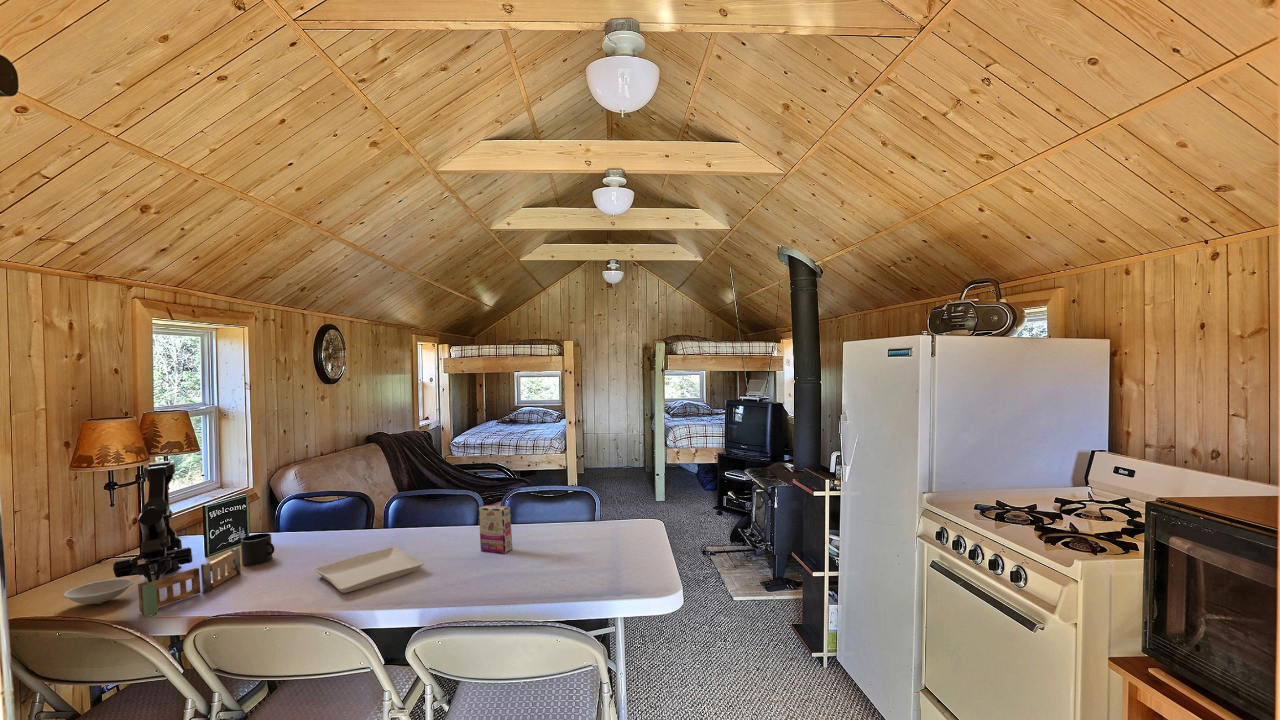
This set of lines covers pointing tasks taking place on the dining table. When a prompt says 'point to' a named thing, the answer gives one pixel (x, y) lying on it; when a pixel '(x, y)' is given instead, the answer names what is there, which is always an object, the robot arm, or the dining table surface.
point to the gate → (169, 583)
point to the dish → (98, 591)
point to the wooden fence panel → (232, 569)
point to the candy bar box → (495, 529)
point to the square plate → (369, 569)
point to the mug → (256, 549)
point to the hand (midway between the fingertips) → (153, 586)
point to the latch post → (149, 599)
